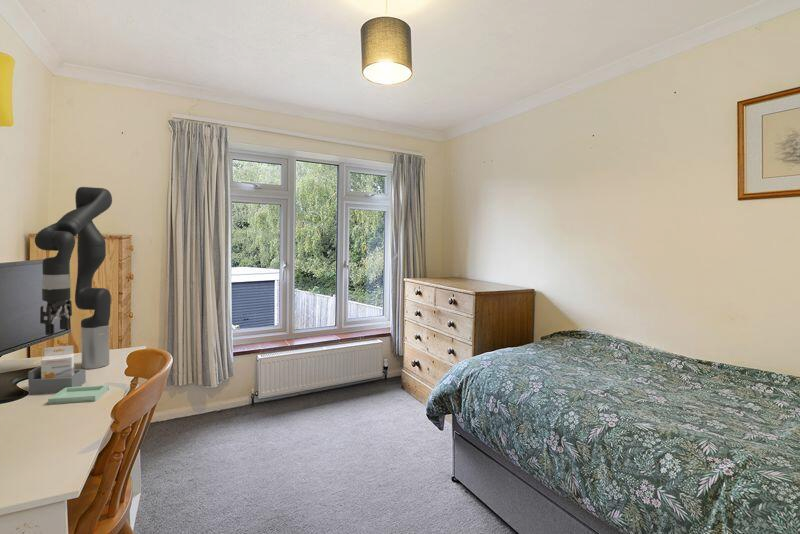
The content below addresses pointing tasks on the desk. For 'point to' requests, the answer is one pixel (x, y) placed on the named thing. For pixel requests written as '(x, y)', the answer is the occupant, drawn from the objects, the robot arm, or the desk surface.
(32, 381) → the bay
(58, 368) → the ink box
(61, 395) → the tray
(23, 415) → the desk surface
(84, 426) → the desk surface
